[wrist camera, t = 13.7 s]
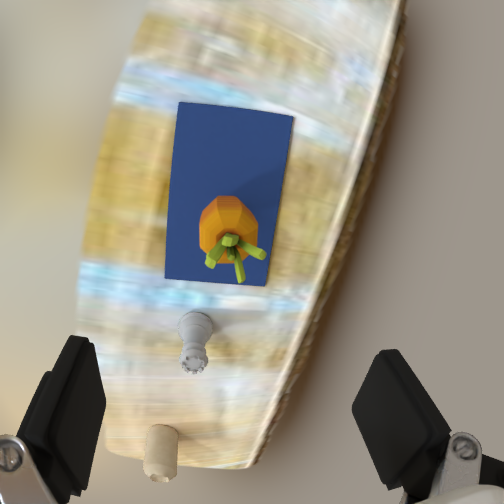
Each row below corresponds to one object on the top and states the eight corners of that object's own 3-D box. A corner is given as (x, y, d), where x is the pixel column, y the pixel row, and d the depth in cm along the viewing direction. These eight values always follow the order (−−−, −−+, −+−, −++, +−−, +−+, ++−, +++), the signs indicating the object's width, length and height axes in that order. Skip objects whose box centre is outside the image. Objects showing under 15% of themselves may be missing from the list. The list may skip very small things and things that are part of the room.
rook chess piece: (198, 303, 40) (196, 344, 32) (219, 327, 41) (221, 369, 34) (171, 321, 40) (164, 362, 33) (192, 343, 42) (190, 385, 34)
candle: (156, 420, 47) (151, 468, 38) (183, 432, 49) (182, 478, 40) (142, 433, 49) (137, 478, 40) (169, 444, 51) (166, 488, 41)
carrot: (254, 192, 35) (283, 241, 21) (235, 232, 36) (250, 303, 22) (212, 174, 33) (211, 211, 20) (194, 216, 35) (183, 279, 21)
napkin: (179, 102, 30) (178, 102, 30) (292, 116, 32) (293, 116, 32) (165, 277, 38) (164, 278, 37) (264, 284, 40) (264, 286, 39)
